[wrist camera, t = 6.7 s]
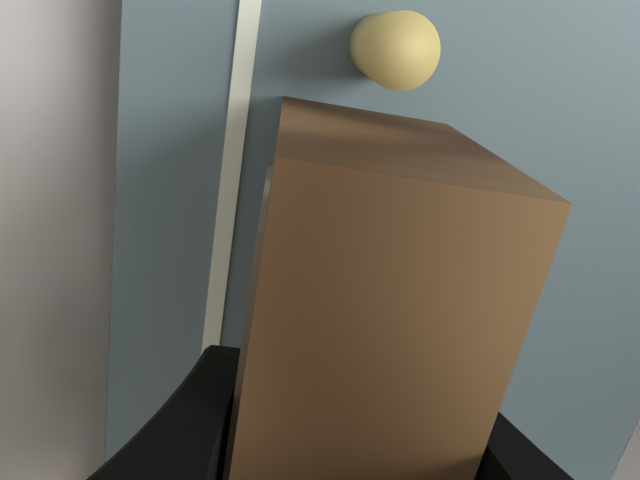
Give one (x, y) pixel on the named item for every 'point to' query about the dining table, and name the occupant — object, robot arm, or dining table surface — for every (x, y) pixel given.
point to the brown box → (384, 299)
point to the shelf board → (397, 99)
